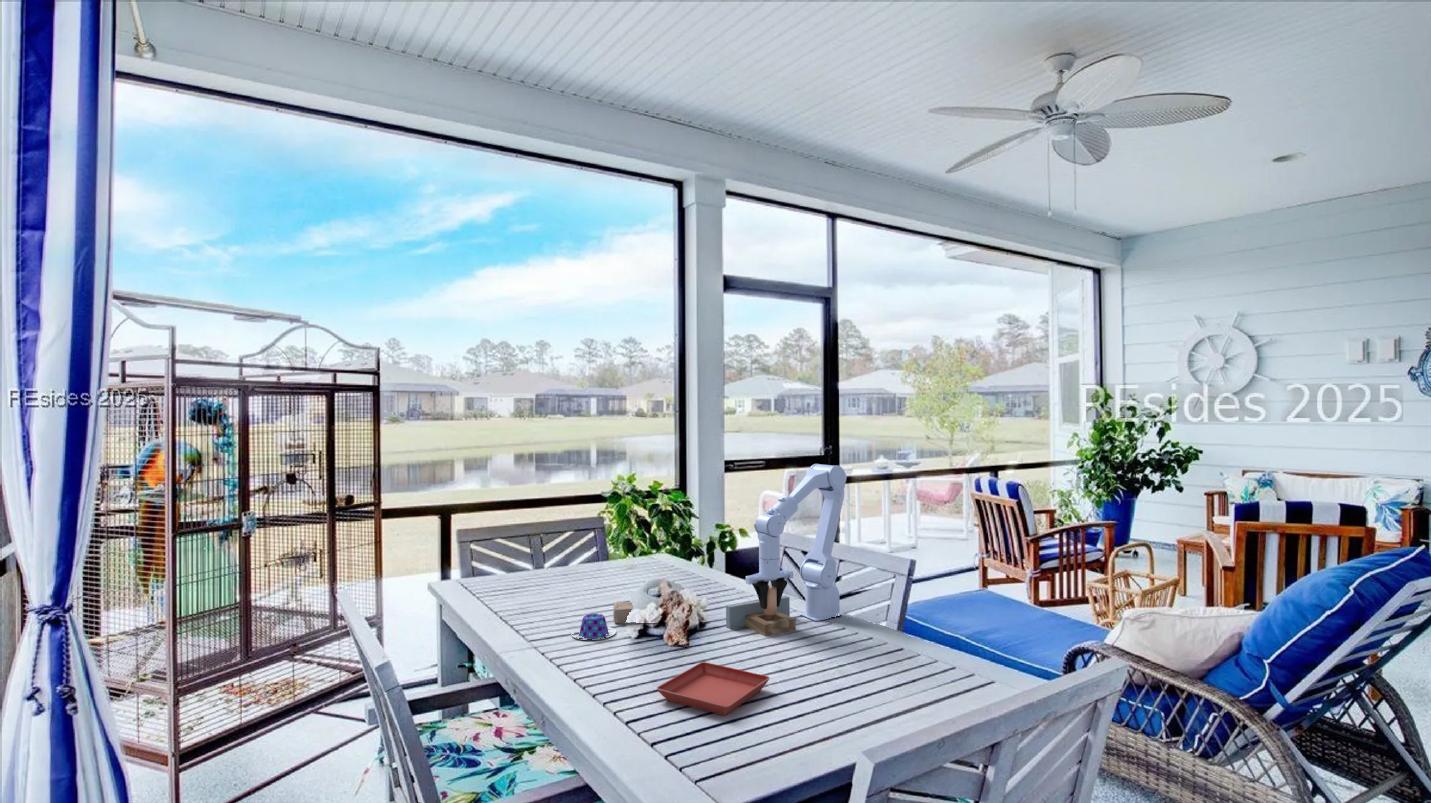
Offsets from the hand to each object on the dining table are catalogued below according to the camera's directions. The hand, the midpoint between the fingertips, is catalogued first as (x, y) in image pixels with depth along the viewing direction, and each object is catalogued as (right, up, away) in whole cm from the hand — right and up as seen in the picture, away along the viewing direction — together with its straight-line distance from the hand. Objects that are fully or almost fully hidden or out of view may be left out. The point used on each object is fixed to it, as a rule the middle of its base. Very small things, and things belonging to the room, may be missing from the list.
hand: (770, 606), depth 204 cm
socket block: (0, -6, 0) cm, 6 cm away
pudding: (-48, -7, -4) cm, 49 cm away
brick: (-36, -7, +10) cm, 38 cm away
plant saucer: (-15, -7, -46) cm, 49 cm away
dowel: (0, -2, 0) cm, 2 cm away
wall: (-3, -6, +5) cm, 8 cm away
